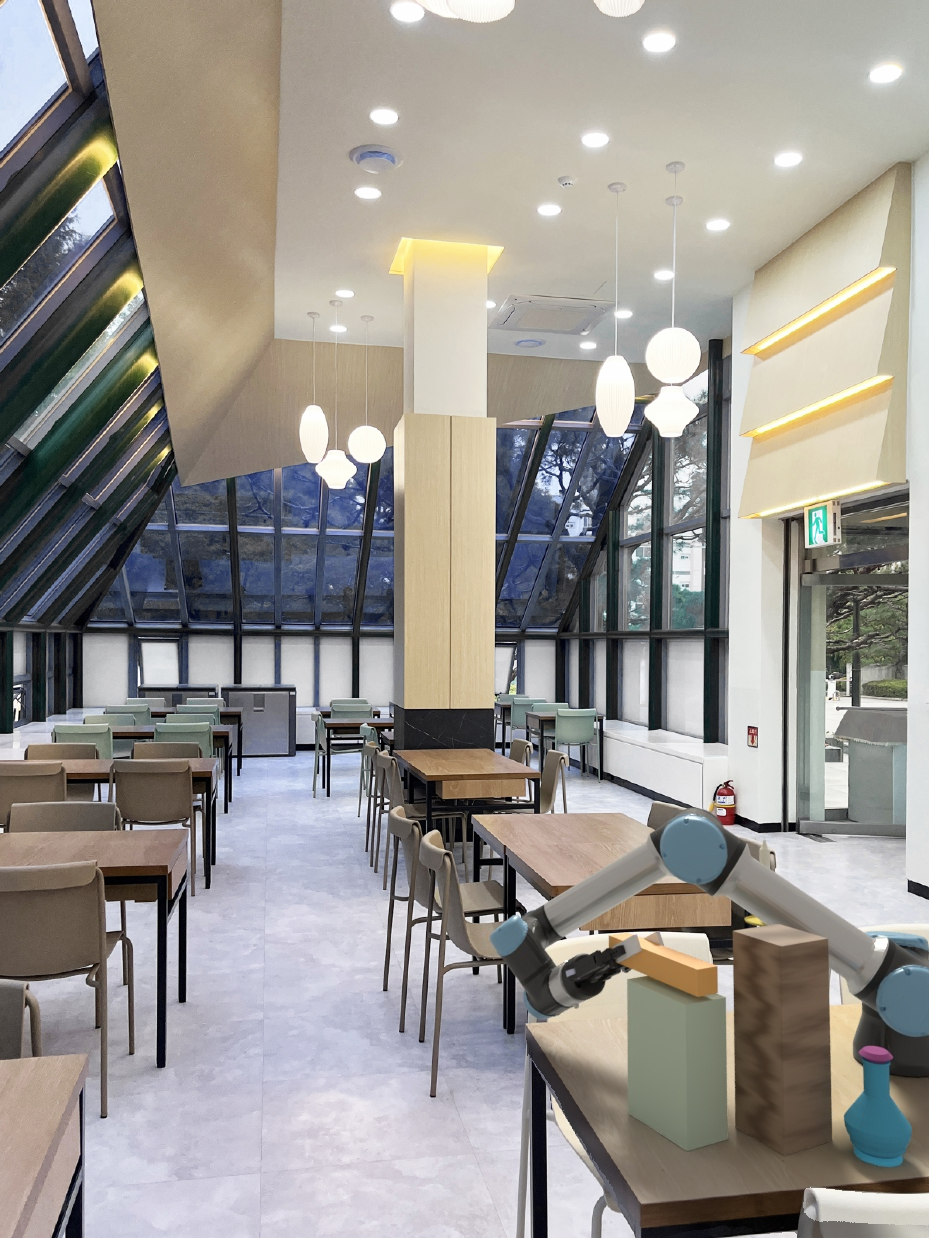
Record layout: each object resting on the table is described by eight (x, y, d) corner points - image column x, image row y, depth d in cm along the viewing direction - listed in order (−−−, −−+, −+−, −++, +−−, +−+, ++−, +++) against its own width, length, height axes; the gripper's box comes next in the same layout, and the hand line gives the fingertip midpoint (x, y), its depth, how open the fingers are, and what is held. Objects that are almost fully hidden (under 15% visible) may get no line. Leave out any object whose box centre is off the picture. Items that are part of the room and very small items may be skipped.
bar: (608, 958, 159) (608, 935, 159) (627, 955, 161) (627, 932, 161) (697, 996, 140) (697, 969, 140) (717, 992, 142) (717, 965, 142)
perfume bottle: (912, 1148, 139) (909, 1044, 140) (913, 1177, 131) (910, 1066, 132) (846, 1135, 143) (843, 1034, 144) (842, 1162, 135) (840, 1055, 136)
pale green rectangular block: (627, 1112, 150) (627, 979, 151) (666, 1102, 154) (665, 972, 155) (687, 1151, 138) (685, 1005, 139) (727, 1139, 141) (725, 997, 143)
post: (735, 1126, 145) (732, 930, 148) (781, 1113, 150) (778, 923, 152) (784, 1155, 136) (781, 946, 139) (832, 1140, 141) (828, 938, 143)
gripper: (621, 994, 172) (696, 957, 155) (544, 1008, 164) (614, 971, 147) (609, 952, 176) (681, 913, 159) (533, 964, 168) (600, 924, 151)
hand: (649, 941), depth 153 cm, fingers closed on bar, 4 cm apart
